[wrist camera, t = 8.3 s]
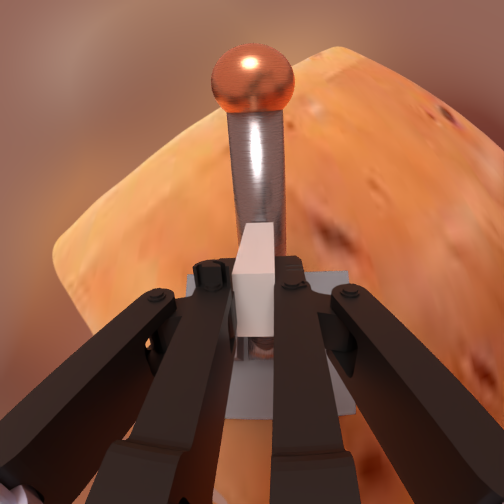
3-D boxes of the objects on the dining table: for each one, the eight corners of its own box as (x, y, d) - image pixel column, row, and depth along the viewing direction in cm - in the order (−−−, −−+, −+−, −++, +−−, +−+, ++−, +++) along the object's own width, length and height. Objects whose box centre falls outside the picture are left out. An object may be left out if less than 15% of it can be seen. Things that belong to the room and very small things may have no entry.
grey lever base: (346, 409, 27) (371, 420, 19) (192, 411, 28) (161, 421, 20) (340, 283, 33) (360, 249, 24) (197, 286, 34) (171, 254, 26)
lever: (294, 373, 23) (296, 36, 11) (239, 373, 23) (199, 42, 11) (292, 334, 26) (289, 47, 15) (243, 335, 27) (215, 51, 15)
